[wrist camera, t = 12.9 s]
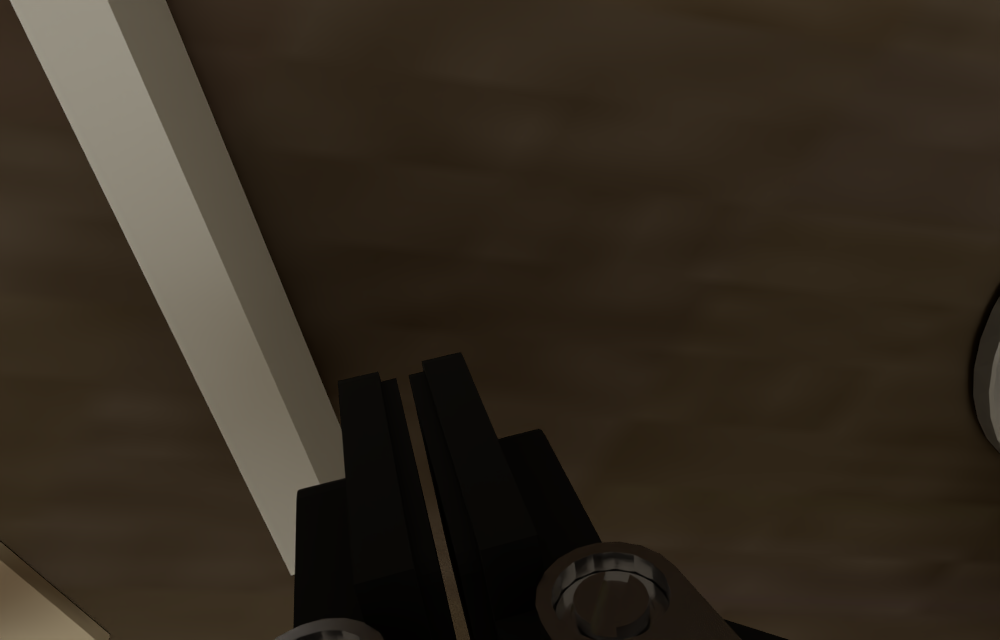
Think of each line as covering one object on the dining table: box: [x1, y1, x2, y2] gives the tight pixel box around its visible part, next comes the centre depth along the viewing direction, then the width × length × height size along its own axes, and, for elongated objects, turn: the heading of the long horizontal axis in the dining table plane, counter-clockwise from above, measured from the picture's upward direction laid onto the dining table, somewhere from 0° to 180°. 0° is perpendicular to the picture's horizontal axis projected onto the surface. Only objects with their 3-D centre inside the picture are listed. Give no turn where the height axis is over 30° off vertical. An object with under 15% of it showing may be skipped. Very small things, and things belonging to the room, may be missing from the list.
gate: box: [10, 0, 345, 575], centre depth 18 cm, size 16×2×6 cm, turn 15°
